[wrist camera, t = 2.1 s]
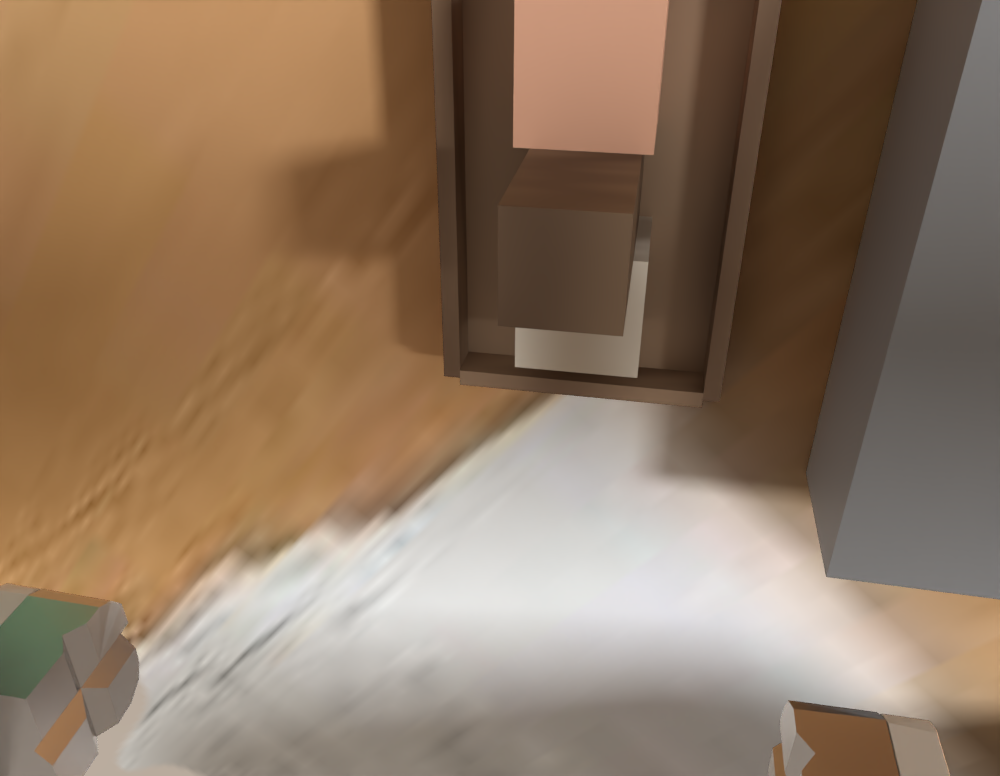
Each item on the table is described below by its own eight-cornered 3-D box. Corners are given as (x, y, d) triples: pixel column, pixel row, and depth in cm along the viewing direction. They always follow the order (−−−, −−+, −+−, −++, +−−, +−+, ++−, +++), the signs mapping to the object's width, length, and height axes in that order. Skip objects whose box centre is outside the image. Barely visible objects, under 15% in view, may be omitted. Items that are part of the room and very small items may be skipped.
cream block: (652, 217, 29) (648, 262, 26) (642, 323, 32) (637, 378, 28) (535, 209, 30) (516, 252, 27) (532, 314, 32) (514, 366, 29)
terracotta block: (670, -18, 26) (668, -1, 22) (658, 120, 28) (653, 154, 24) (537, -21, 26) (514, -5, 23) (534, 114, 28) (512, 147, 25)
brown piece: (787, -111, 25) (842, -101, 16) (716, 368, 34) (726, 548, 25) (451, -113, 27) (336, -104, 18) (461, 345, 35) (386, 507, 26)
